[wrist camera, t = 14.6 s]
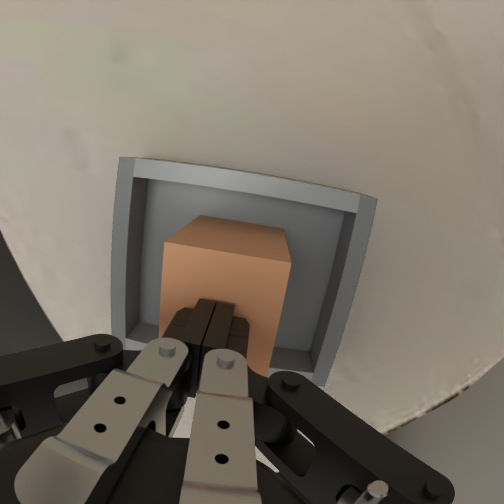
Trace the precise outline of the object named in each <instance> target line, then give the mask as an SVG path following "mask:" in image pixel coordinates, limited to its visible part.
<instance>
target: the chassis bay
mask: <svg viewBox="0 0 504 504" xmlns="http://www.w3.org/2000/svg"><path fill="white" fill-rule="evenodd" d="M377 200H378V199H377V198H374V197H371V196H367V195H364V194H361V193H357V192H352V191H348V190H343V189H339V188H334V187H329V186H325V185H320V184H315V183H310V182H305V181H299V180H294V179H289V178H283V177H278V176H272V175H266V174H261V173H255V172H248V171H242V170H236V169H229V168H222V167H216V166H208V165H201V164H193V163H186V162H177V161H169V160H160V159H151V158H138V157H119V164H118V172H117V181H116V191H115V202H114V215H113V230H112V251H111V328H112V336H115V337H117V338H118V339H119V340H121V342H122V344H123V350H143V349H144V348H145V346H146V345H147V344H148V343H149V342H150V341H151V340H154V339H157V338H159V318H160V297H161V280H162V266H163V253H164V242H165V241H166V240H167V239H169V238H170V237H171V236H173V235H174V234H175V233H177V232H178V231H179V230H181V229H182V228H183V227H185V226H186V225H187V224H189V223H190V222H191V221H193V220H194V219H195V218H197V217H198V216H200V215H203V216H209V217H216V218H222V219H228V220H235V221H241V222H247V223H253V224H259V225H265V226H271V227H277V228H283V230H284V234H285V238H286V242H287V246H288V250H289V254H290V259H291V268H290V273H289V278H288V283H287V288H286V292H285V297H284V302H283V307H282V311H281V316H280V320H279V325H278V329H277V334H276V338H275V343H274V347H273V352H272V356H271V360H270V365H269V369H268V373H267V377H268V378H269V377H270V376H271V375H272V374H273V373H275V372H278V371H292V372H296V373H299V374H301V375H303V376H304V377H306V378H307V379H308V380H310V381H311V382H312V383H314V384H315V385H316V386H325V383H326V381H327V378H328V375H329V372H330V370H331V367H332V364H333V361H334V358H335V355H336V352H337V349H338V346H339V343H340V340H341V337H342V334H343V331H344V328H345V324H346V321H347V318H348V315H349V311H350V308H351V304H352V301H353V298H354V294H355V290H356V287H357V283H358V280H359V276H360V272H361V268H362V265H363V261H364V257H365V253H366V249H367V245H368V240H369V236H370V232H371V228H372V223H373V219H374V214H375V209H376V205H377Z"/></svg>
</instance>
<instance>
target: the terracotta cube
mask: <svg viewBox="0 0 504 504" xmlns="http://www.w3.org/2000/svg"><path fill="white" fill-rule="evenodd" d="M290 268H291V259H290V254H289V250H288V246H287V242H286V238H285V234H284V230H283V228H277V227H271V226H265V225H259V224H253V223H247V222H241V221H235V220H228V219H222V218H216V217H209V216H203V215H200V216H198V217H197V218H195V219H194V220H193V221H191V222H190V223H189V224H187V225H186V226H185V227H183V228H182V229H181V230H179V231H178V232H177V233H175V234H174V235H173V236H171V237H170V238H169V239H167V240H166V241H165V242H164V253H163V266H162V280H161V297H160V318H159V338H161V337H162V336H163V334H164V332H165V331H166V329H167V327H168V325H169V324H170V322H171V320H172V319H173V317H174V315H175V314H176V312H177V311H179V310H180V309H182V308H184V307H187V308H192V309H194V308H195V306H196V304H197V302H198V300H199V298H200V299H205V300H211V301H216V302H222V303H228V304H234V305H235V308H234V314H233V316H236V317H241V318H246V320H247V321H248V323H249V324H250V330H249V339H248V349H247V358H246V360H247V364H248V366H249V367H250V368H251V369H252V370H253V371H254V372H256V373H258V374H260V375H262V376H265V377H267V373H268V369H269V365H270V360H271V356H272V352H273V347H274V343H275V338H276V334H277V329H278V325H279V320H280V316H281V311H282V307H283V302H284V297H285V292H286V288H287V283H288V278H289V273H290ZM216 305H217V304H216Z"/></svg>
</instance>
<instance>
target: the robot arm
mask: <svg viewBox="0 0 504 504" xmlns="http://www.w3.org/2000/svg"><path fill="white" fill-rule="evenodd" d="M216 304H217V305H216ZM234 308H235V305H234V304H228V303H222V302H216V301H211V300H205V299H200V298H199V300H198V302H197V304H196V306H195V308H194V309H192V308H187V307H184V308H182V309H180V310H179V311H177V312H176V314H175V315H174V317H173V319H172V320H171V322H170V324H169V325H168V327H167V329H166V331H165V332H164V334H163V336H162V337H161V338H157V339H154V340H151V341H150V342H149V343H148V344H147V345H146V346H145V348H144V349H143V350H123V344H122V342H121V340H119V339H118V338H117V337H115V336H112V335H108V334H95V335H91V336H87V337H83V338H79V339H74V340H70V341H66V342H62V343H58V344H54V345H49V346H45V347H40V348H36V349H31V350H27V351H22V352H18V353H13V354H8V355H4V356H0V504H305V503H304V502H303V501H302V500H301V499H300V498H299V497H298V496H297V494H295V492H294V491H293V490H292V489H291V488H290V487H289V486H288V485H287V484H286V483H285V482H284V481H283V480H282V479H281V478H280V477H279V476H278V475H277V474H276V473H275V472H274V471H273V470H272V469H271V468H269V467H268V466H266V465H265V464H263V463H262V462H260V461H258V460H256V454H255V446H256V447H257V448H258V449H259V450H260V451H261V453H262V454H263V455H264V456H265V457H266V458H267V459H268V460H269V461H270V462H271V463H272V464H273V465H274V466H275V467H276V468H277V469H278V470H279V471H280V472H281V473H282V474H283V475H284V476H285V477H286V478H287V479H288V480H289V481H290V482H291V483H292V484H293V485H294V486H295V487H296V488H297V489H298V490H299V491H301V492H302V493H303V494H304V495H305V496H306V497H307V498H308V499H309V500H310V501H311V502H312V503H314V504H451V503H452V502H453V500H454V496H455V491H454V487H453V485H452V483H451V482H450V481H449V479H447V478H446V477H445V476H443V475H442V474H440V473H439V472H437V471H436V470H434V469H432V468H431V467H430V466H428V465H426V464H425V463H423V462H422V461H420V460H419V459H417V458H416V457H414V456H413V455H412V454H410V453H408V452H407V451H405V450H404V449H403V448H401V447H400V446H398V445H397V444H395V443H394V442H392V441H391V440H390V439H388V438H387V437H385V436H384V435H382V434H381V433H380V432H378V431H377V430H375V429H374V428H373V427H371V426H370V425H368V424H367V423H366V422H364V421H363V420H362V419H360V418H359V417H357V416H356V415H355V414H353V413H352V412H351V411H349V410H348V409H347V408H345V407H344V406H343V405H341V404H340V403H338V402H337V401H336V400H335V399H333V398H332V397H331V396H329V395H328V394H327V393H325V392H324V391H323V390H321V389H320V388H319V387H317V386H316V385H315V384H314V383H312V382H311V381H310V380H308V379H307V378H306V377H304V376H303V375H301V374H299V373H296V372H292V371H278V372H275V373H273V374H272V375H271V376H270V377H269V378H268V377H265V376H262V375H260V374H258V373H256V372H254V371H253V370H252V369H251V368H250V367H249V366H248V364H247V360H246V358H247V349H248V339H249V330H250V324H249V323H248V321H247V320H246V318H241V317H236V316H233V314H234ZM86 377H87V382H88V388H87V389H84V390H80V391H77V392H74V393H70V394H67V395H63V396H61V397H57V398H54V391H55V389H56V388H57V387H58V386H60V385H62V384H65V383H69V382H73V381H76V380H80V379H83V378H86ZM197 390H198V392H197ZM196 393H197V398H196V404H195V410H194V416H193V422H192V428H191V435H190V438H172V437H173V435H174V432H175V430H176V428H177V426H178V423H179V421H180V419H181V417H182V415H183V412H184V404H185V403H186V400H187V397H193V398H195V396H196ZM297 429H298V430H300V431H301V432H302V433H303V434H304V435H305V436H306V437H307V438H309V439H310V440H311V441H312V442H313V444H314V446H313V445H312V444H311V443H310V442H309V441H308V440H307V439H305V438H304V437H303V436H302V435H301V434H300V433H299V432H298V431H297Z"/></svg>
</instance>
